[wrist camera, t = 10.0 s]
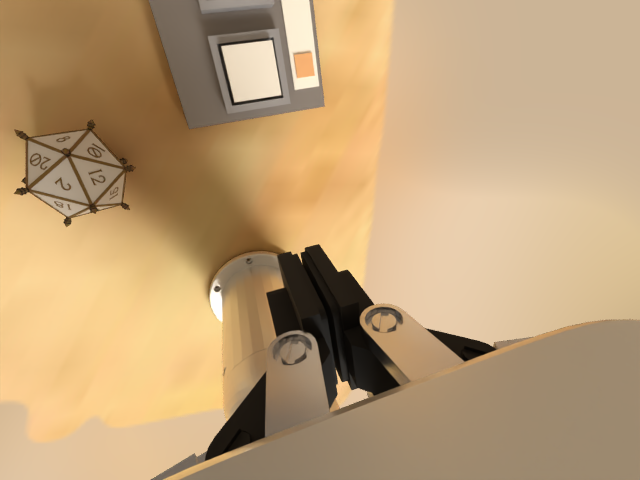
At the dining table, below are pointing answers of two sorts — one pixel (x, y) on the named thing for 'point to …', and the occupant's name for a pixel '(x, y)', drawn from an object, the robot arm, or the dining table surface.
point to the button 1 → (251, 70)
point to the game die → (74, 172)
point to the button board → (230, 29)
